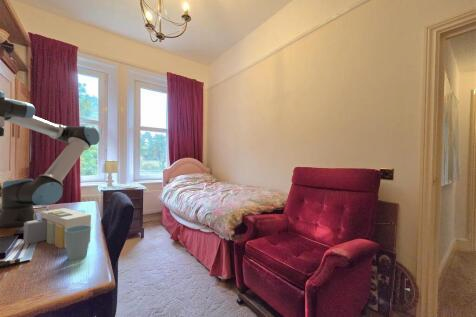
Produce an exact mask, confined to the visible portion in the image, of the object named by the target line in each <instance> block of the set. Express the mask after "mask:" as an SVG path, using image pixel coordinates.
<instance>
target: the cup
mask: <svg viewBox="0 0 476 317" xmlns="http://www.w3.org/2000/svg"><path fill="white" fill-rule="evenodd" d="M91 230H92V226H88V225H81V226H74V227H70V228H67V229H66V230H65V238H66V247H67V248H66V254H67V255H66V256H67V259H68V260H70V261H77V260H81V259H83V258H85V257H87V255H88V249H89V244H90V243H89V242H90V241H89V237H90V238H91V234H90V231H91Z"/></svg>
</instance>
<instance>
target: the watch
mask: <svg viewBox="0 0 476 317" xmlns="http://www.w3.org/2000/svg"><path fill="white" fill-rule="evenodd" d="M48 210H52V209H51V208H50V207H49V208H47V207H42V208H39V209H37V210H35V213H34V215H33V219H34V220H36V216H37V214H38V213H39V212H42V211H48ZM35 215H36V216H35Z"/></svg>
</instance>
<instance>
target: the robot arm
mask: <svg viewBox="0 0 476 317" xmlns="http://www.w3.org/2000/svg"><path fill="white" fill-rule="evenodd" d="M35 115H36V108H35V106H34V105H33V104H32V103H29V102H26V101H22V100H19V99H18V100H17V99H13V98H9V97H6V93H5V92H4V91H2V90H0V137H4V136H5V128H4V126H5V121H6V122H8V123H11V124H13V125H17V126H20V127H23V128H27V129H30V130H32V131H35V132H37V133H40V134H43V135H45V136H46V135H47V136H48V137H49V138H51V139H53V140H57V141H59V142H61V143H62V142H63V143H66V144H67V145H66V146H65V147H64V149H63V150H62V152H61V153H60V154H59V155H58V156H57V158H55V160H54V161H53V162H52V164H51V165H50V166H49V168H48V169H47V170H46V171H45V172H44V174H40V175H38V176H37V177H36V178H35V180H34V179H33V178H22V179H14V180H13V179H11V180H5V181H3V182H2V185H1V186H2V187H1V211H0V228H3V229H5V228H16V227H22V226H23V227H24V223H26V222H28V221H33V220H34V219H33V215H34V213H35V212H36V210H35V209H34V206H50V205H53V204H55V203H57V202H58V201H59V200H60V199H61V198H62V196H63V193H64V192H63V191H64V188H63V186H64V184H63V181H64V180H65V178H66V176H67V175H68V173H70V171H71V169H72V168H73V166H75V164H76V163H77V161H78V159H80V157H81V156H82V154H83V152H84V151H89V149H90V148H91V146H95V145H98V144H99V142H100V133H99V131H98V129H97V128H95V126H89V125H83V126H81V125H80V126H79V125H77V126H76V125H63V124H60V123H54V122H51V121H49V120H45V119H43V118H41V117H38V116H35ZM35 216H36V220H38V216H37V214H36V215H35Z"/></svg>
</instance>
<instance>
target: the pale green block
mask: <svg viewBox="0 0 476 317" xmlns="http://www.w3.org/2000/svg"><path fill="white" fill-rule="evenodd" d="M46 243H47V244H50V245H53V244H54V245H55V222H53V221H51V222H49V223H47V240H46Z"/></svg>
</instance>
